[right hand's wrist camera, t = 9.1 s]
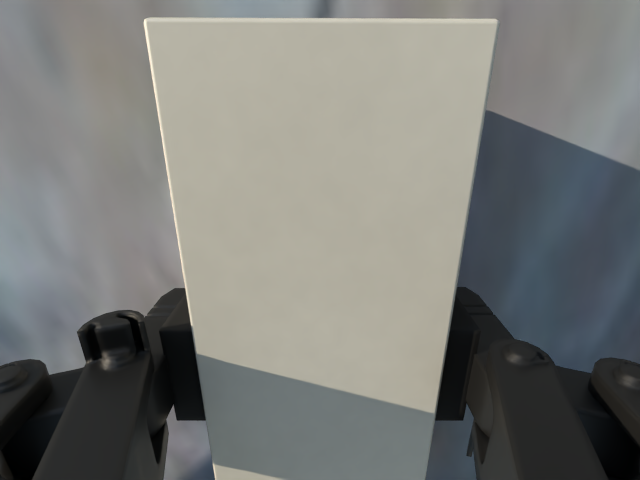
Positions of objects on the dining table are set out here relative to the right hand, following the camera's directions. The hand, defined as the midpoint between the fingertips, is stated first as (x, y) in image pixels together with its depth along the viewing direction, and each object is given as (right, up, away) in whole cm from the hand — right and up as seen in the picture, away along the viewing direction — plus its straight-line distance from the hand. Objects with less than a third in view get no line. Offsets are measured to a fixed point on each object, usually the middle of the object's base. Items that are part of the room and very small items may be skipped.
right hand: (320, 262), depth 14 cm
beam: (0, -18, +8) cm, 20 cm away
